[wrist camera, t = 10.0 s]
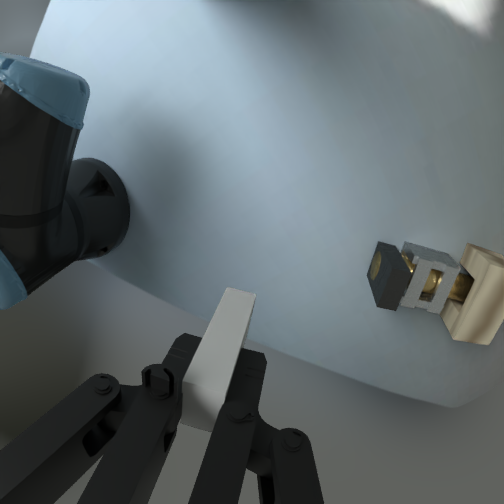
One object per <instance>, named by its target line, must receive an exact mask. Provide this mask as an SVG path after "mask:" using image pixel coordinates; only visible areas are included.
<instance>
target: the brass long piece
mask: <svg viewBox="0 0 504 504" xmlns="http://www.w3.org/2000/svg"><path fill="white" fill-rule="evenodd" d="M414 267H415V264H413V263H412V262H411V261H410V259H407V258H403V257H402V256H401V254H400V253H399V251H398V250H397V248H396V246H394V245H390V244H386V243H382V242H379V241H378V244H377V247H376V250H375V253H374V256H373V259H372V262H371V265H370V267H369V270H368V273H367V277H368V280H369V283H370V287H371V290H372V293H373V296H374V299H375V303H376V306H377V307H380V308H384V309H389V310H394V311H396V309H397V307H398V305H399V303H400V301H401V298H402V296H403V294H404V291H405V289H406V287H407V284H408V282H409V279H410V277H411V274H412V272H413V269H414ZM441 274H442V271H439V270H436V269H431V271H430V274H429V276H428V278H427V281H426V283H425V285H424V288H423V290H422V292H425V293H429V294H433V292H434V290H435V288H436V285H437V283H438V281H439V279H440V276H441ZM474 281H475V279H474V278H473V277H472V276H469V275H465V274H462V273H459V274H458V275H457V277H456V280H455V282H454V284H453V286H452V289H451V291H450V293H449V295H448V297H447V298H450V299H454V300H459V301H463V302H465V300H466V298H467V296H468V294H469V292H470V290H471V287H472V285H473V283H474Z"/></svg>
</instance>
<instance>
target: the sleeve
mask: <svg viewBox="0 0 504 504" xmlns="http://www.w3.org/2000/svg"><path fill="white" fill-rule="evenodd" d="M400 254H401V256H402V257H403V258H407V259H410V261H411V262H412V263H413V264H415V267H414V269H413V272H412V274H411V277H410V279H409V282H408V284H407V287H406V289H405V291H404V294H403V296H402V298H401V301H400V306H404V307H409V308H415V307H420V308H424V309H426V310H427V311H428V312H432V313H437V314H440V312H441V311H442V309H443V307H444V304H445V302H446V299H447V297H448V295H449V293H450V291H451V289H452V286H453V284H454V282H455V280H456V277H457V275H458V274H459V272H460V270H461V268H460V267H459V266H458V265H457V263H456V262H455V261H454V260H453V259H452V258H451V257H450V256H449V255H448V254H447V253H443V252H440V251H436V250H433V249H430V248H426V247H423V246H419V245H416V244H412V243H409V242H404V245H403V248H402V250H401V253H400ZM431 269H436V270H439V271H442V274H441V276H440V279H439V281H438V283H437V285H436V288H435V290H434V292H433V294H429V293H425V292H422V290H423V288H424V285H425V283H426V281H427V278H428V276H429V274H430V271H431Z"/></svg>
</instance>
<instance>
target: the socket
mask: <svg viewBox="0 0 504 504" xmlns="http://www.w3.org/2000/svg"><path fill="white" fill-rule="evenodd" d="M460 263H461V265H462V266H463V267H464V268H465V269H466V270H467V271H468V272H469V273H470V275H471V276H472V277H473V278H474V279H475V281H474V283H473V285H472V287H471V290H470V292H469V294H468V296H467V298H466V300H465V302H463V301H459V300H454V299H450V298H447V299H446V302H445V304H444V307H443V309H442V311H441V312H440V316H441V318H442V319H443V321H444V323H445V325H446V327H447V329H448V330H449V332H450V334H451V336H452V338H453V340H458V341H465V342H471V343H477V344H483V345H489V344H490V342H491V341H492V339H493V337H494V336H495V334H496V332H497V330H498V329H499V327H500V325H501V323H502V321H503V320H504V257H503V256H502V255H501V254H498V253H495V252H492V251H490V250H487V249H484V248H481V247H478V246H475V245H472V244H469V243H467V245H466V248H465V251H464V253H463V256H462V258H461V261H460Z"/></svg>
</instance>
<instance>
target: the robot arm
mask: <svg viewBox="0 0 504 504" xmlns="http://www.w3.org/2000/svg"><path fill="white" fill-rule="evenodd" d="M89 96H90V89H89V85H88V83H87V82H86V81H85V79H83V78H82V77H81V76H79V75H77V74H75V73H72V72H70V71H68V70H65V69H63V68H60V67H57V66H54V65H51V64H48V63H45V62H42V61H39V60H36V59H32V58H28V57H24V56H20V55H14V54H9V53H6V52H0V310H3V309H8V308H10V307H12V306H13V305H15V304H16V303H18V302H20V301H21V300H25V299H26V298H27V296H28V295H30V294H31V293H32V292H33V291H35V290H36V289H37V288H39V287H40V286H41V285H42V284H44V283H45V282H47V281H48V280H49V279H51V278H52V277H53V276H54V275H56V274H57V273H59V272H60V271H61V270H63V269H64V268H66V267H67V266H69V265H70V264H71V263H73V262H74V261H79V260H85V259H91V258H97V257H101V256H103V255H105V254H107V253H109V252H110V251H111V250H113V249H114V248H116V247H117V246H118V245H119V244H120V243H121V241H122V240H123V238H124V237H125V234H126V232H127V229H128V225H129V217H130V210H129V202H128V197H127V194H126V191H125V188H124V186H123V184H122V182H121V180H120V179H119V177H118V176H117V174H116V173H115V172H114V171H113V170H112V169H111V168H110V167H109V166H108V165H107V164H105V163H103V162H102V161H100V160H97V159H94V158H81V159H77V160H73V161H72V159H73V155H74V151H75V147H76V144H77V140H78V137H79V134H80V130H82V128H83V125H84V124H83V119H84V115H85V111H86V107H87V103H88V100H89ZM255 298H256V294H254V293H250V292H246V291H242V290H238V289H234V288H230V287H227V288H226V290H225V292H224V294H223V296H222V298H221V301H220V303H219V305H218V307H217V309H216V311H215V313H214V315H213V317H212V319H211V322H210V324H209V326H208V328H207V330H206V332H205V334H204V336H203V338H201V337H197V336H194V335H190V334H187V333H184V334H182V335H181V336H179V337H178V338H176V340H175V341H174V343H173V345H172V347H171V348H170V350H169V352H168V354H167V355H166V357H165V359H164V360H163V362H162V364H152V365H149V366H147V367H145V368H144V369H143V370H142V385H139V386H130V385H121V384H119V382H118V380H117V379H116V378H115V377H113V376H111V375H109V374H102V373H101V374H96V375H94V376H92V377H90V378H89V379H88V380H86V381H85V382H84V383H83V384H81V385H80V386H79V387H78V388H76V389H75V390H74V391H73V392H72V393H70V394H69V395H68V396H67V397H65V398H64V399H63V400H62V401H60V402H59V403H58V404H57V405H56V406H54V407H53V408H52V409H50V410H49V411H48V412H47V413H46V414H44V415H43V416H42V417H41V418H39V419H38V420H37V421H36V422H34V423H33V424H32V425H31V426H30V427H28V428H27V429H26V430H25V431H23V432H22V433H21V434H20V435H19V436H17V437H16V438H15V439H14V440H13V441H11V442H10V443H9V444H7V445H6V446H5V447H4V448H3V449H1V450H0V504H54V503H55V502H56V501H57V500H58V499H59V498H60V497H61V496H62V495H63V494H64V493H65V492H66V491H67V490H68V489H69V488H70V487H71V486H72V485H73V484H74V483H75V482H76V481H77V480H78V479H79V478H80V477H81V476H82V475H83V474H84V473H85V472H86V471H87V470H88V469H89V468H90V467H91V466H92V465H93V464H94V463H95V462H96V461H97V460H98V459H99V458H100V457H101V456H102V455H103V454H104V455H103V457H102V459H101V460H100V462H99V464H98V466H97V468H96V470H95V471H94V473H93V475H92V477H91V479H90V480H89V482H88V484H87V486H86V488H85V490H84V491H83V493H82V495H81V497H80V499H79V501H78V503H77V504H148V501H149V499H150V496H151V494H152V491H153V489H154V487H155V484H156V482H157V479H158V477H159V475H160V472H161V470H162V467H163V465H164V463H165V460H166V458H167V455H168V453H169V451H170V448H171V446H172V443H173V441H174V438H175V436H176V432H177V425H178V422H179V420H180V418H181V422H180V423H182V424H185V425H188V426H191V427H195V428H198V429H202V430H205V431H208V432H212V434H211V437H210V440H209V443H208V446H207V449H206V452H205V456H204V458H203V461H202V465H201V467H200V470H199V473H198V476H197V479H196V482H195V485H194V488H193V491H192V494H191V497H190V500H189V503H188V504H238V500H239V496H240V492H241V488H242V484H243V479H244V475H245V471H246V468H247V469H248V470H250V471H252V472H254V473H256V474H257V480H258V490H259V499H260V504H324V501H323V497H322V492H321V487H320V483H319V478H318V474H317V469H316V465H315V461H314V456H313V451H312V447H311V443H310V441H309V439H308V436H307V435H306V434H304V433H303V432H302V431H300V430H298V429H294V428H285V429H281V430H278V429H276V428H274V427H272V426H270V425H269V424H267V423H266V422H264V420H263V419H262V418H261V416H260V415H259V411H258V404H259V400H260V395H261V390H262V385H263V380H264V374H265V370H266V364H267V361H266V358H265V355H264V353H260V352H256V351H252V350H248V349H244V348H243V347H244V344H245V340H246V337H247V333H248V329H249V324H250V320H251V316H252V311H253V307H254V303H255Z"/></svg>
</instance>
